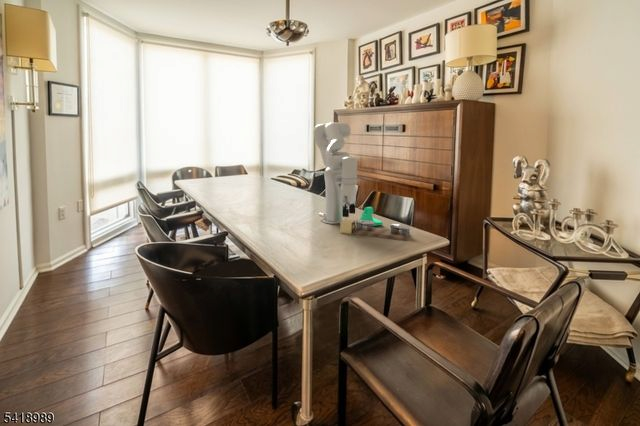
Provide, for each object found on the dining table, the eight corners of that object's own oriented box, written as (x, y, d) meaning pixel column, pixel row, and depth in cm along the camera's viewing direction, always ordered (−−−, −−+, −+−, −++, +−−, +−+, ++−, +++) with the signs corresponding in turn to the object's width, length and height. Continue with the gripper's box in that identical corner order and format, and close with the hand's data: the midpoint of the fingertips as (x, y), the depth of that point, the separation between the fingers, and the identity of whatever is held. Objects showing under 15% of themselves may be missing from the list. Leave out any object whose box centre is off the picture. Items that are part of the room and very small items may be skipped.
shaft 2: (389, 233, 179) (389, 224, 178) (392, 231, 182) (393, 222, 181) (406, 236, 174) (407, 226, 173) (409, 234, 177) (410, 224, 176)
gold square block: (339, 232, 184) (339, 221, 183) (343, 230, 190) (343, 219, 188) (352, 234, 181) (352, 223, 180) (356, 231, 187) (356, 220, 185)
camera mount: (383, 226, 197) (384, 208, 195) (371, 228, 194) (371, 209, 192) (371, 221, 208) (372, 204, 206) (360, 222, 205) (360, 205, 203)
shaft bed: (354, 233, 183) (354, 230, 182) (360, 228, 192) (360, 225, 192) (405, 240, 172) (405, 237, 172) (409, 234, 182) (409, 231, 182)
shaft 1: (355, 229, 184) (355, 220, 183) (356, 227, 189) (357, 218, 187) (373, 231, 182) (373, 222, 181) (374, 228, 186) (374, 220, 185)
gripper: (348, 179, 188) (347, 211, 192) (335, 183, 173) (335, 217, 176) (361, 180, 185) (361, 212, 189) (350, 183, 170) (350, 218, 173)
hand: (348, 215), depth 183 cm, fingers open, 9 cm apart
